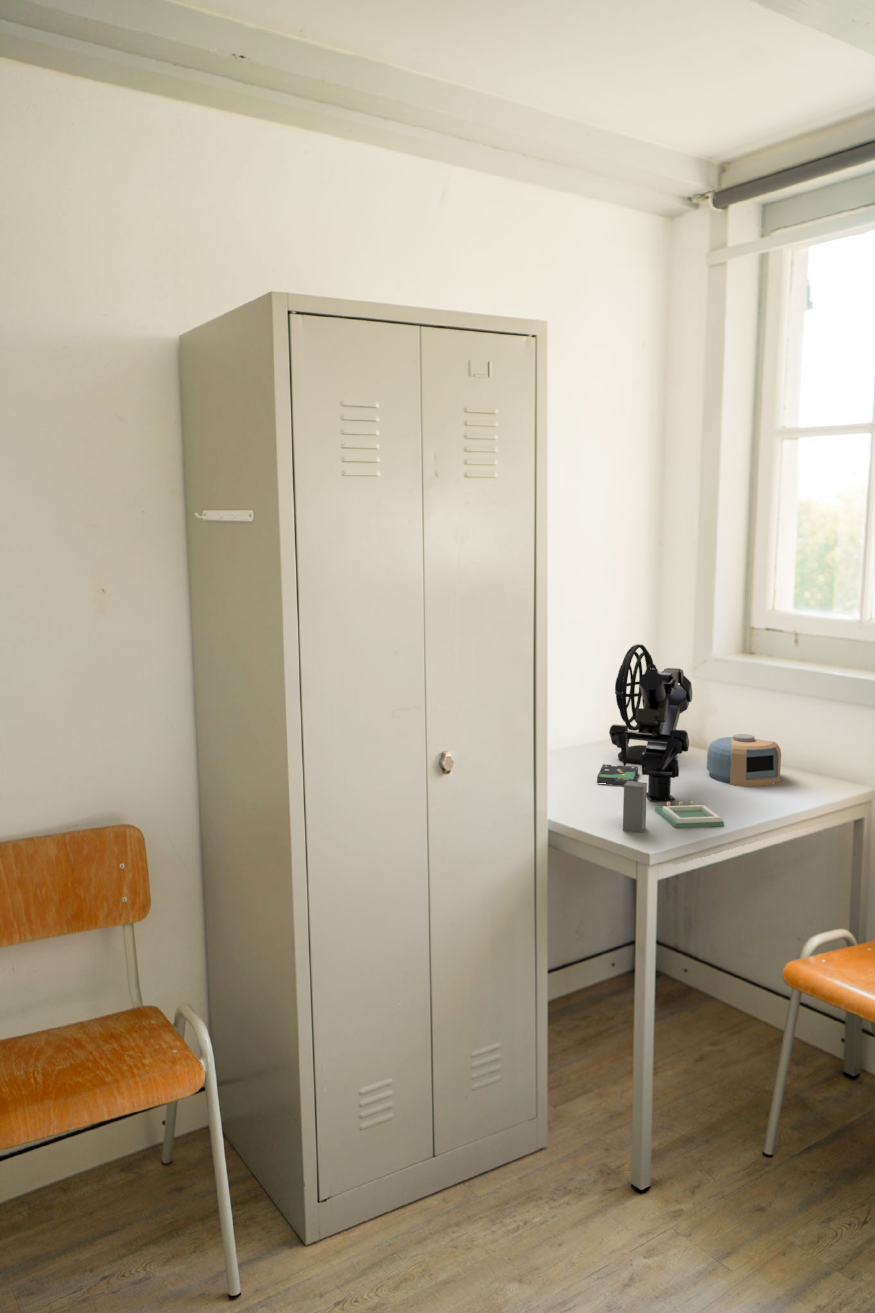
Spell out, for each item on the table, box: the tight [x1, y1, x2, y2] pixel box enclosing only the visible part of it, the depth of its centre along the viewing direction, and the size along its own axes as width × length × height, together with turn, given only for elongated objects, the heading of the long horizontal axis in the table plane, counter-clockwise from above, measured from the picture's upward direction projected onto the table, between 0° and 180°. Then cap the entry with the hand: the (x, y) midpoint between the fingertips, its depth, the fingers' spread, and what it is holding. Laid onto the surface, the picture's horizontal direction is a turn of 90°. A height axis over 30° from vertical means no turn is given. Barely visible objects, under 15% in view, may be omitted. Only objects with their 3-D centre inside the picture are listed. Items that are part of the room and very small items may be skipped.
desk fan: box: [614, 644, 657, 764], centre depth 293 cm, size 27×18×35 cm, turn 152°
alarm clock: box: [706, 733, 782, 787], centre depth 271 cm, size 19×20×12 cm
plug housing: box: [622, 781, 648, 834], centre depth 224 cm, size 4×4×11 cm
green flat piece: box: [654, 800, 725, 829], centre depth 233 cm, size 14×12×2 cm
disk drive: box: [596, 763, 639, 786], centre depth 270 cm, size 10×3×15 cm
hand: (643, 767), depth 229 cm, fingers open, 9 cm apart
